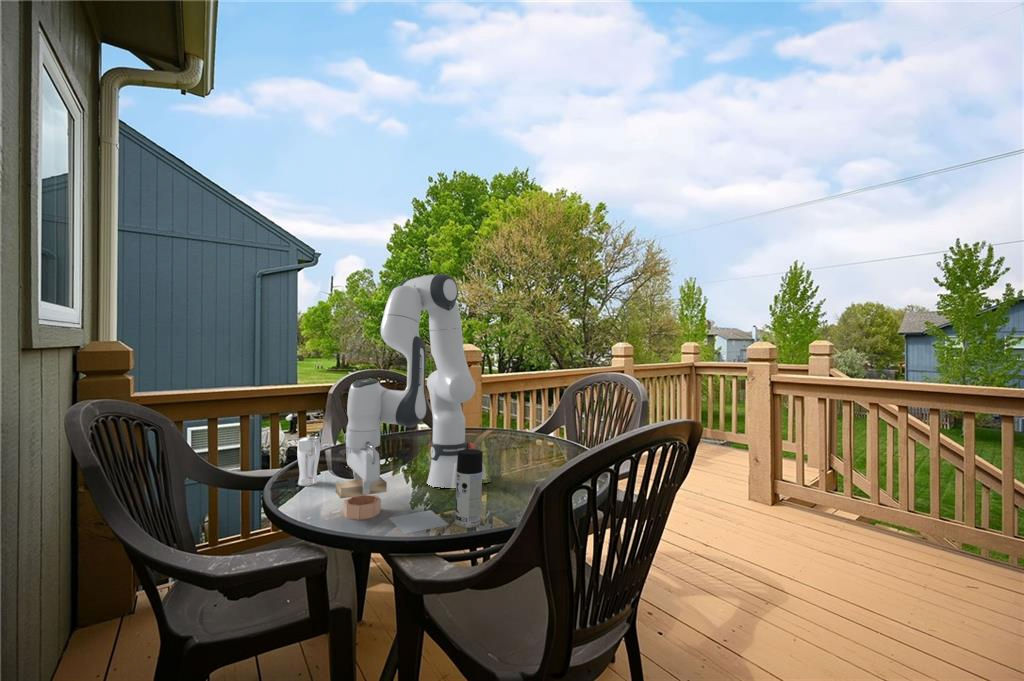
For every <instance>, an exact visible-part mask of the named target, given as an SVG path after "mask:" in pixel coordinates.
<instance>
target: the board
mask: <svg viewBox="0 0 1024 681" xmlns="http://www.w3.org/2000/svg"><path fill="white" fill-rule="evenodd" d="M387 486H388V483H387V481H386V480H385V479H384V478H382V477H381V476H380V477H379V480H378V481H376V482H372V483H371V487H370V494H369V495H376V494H381V493H387ZM362 487H363V479H358V480H354V479H353V480H345V481H337V482H335V493H336V494H337V495H338V497H339V498H340V499H348V498H349V497H355V496H362V495H363V494H362Z"/></svg>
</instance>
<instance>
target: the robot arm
mask: <svg viewBox="0 0 1024 681" xmlns="http://www.w3.org/2000/svg"><path fill="white" fill-rule="evenodd" d="M458 294H459V289H458V286H457V283H456V281H455V280H454V278H453V277H452V276H451V275H448V274H443V273H442V274H441V273H438V274H429V275H421V276H417V277H414V278H408V279H405V280H403V281H401V282H400V283H399V284H398V285H397V286H396V287H394V288H393V289H392V290H391V292H390V294H389V297H388V299H387V301H386V304H385V308H384V311H383V315H382V320H381V324H380V337H381V339H382V340H383V342H384V343H385V344H386V345H387V346H388V347H390V348H391V349H393V350H394V351H397V352H399V353H400V354H402V355H403V356H404V358H406V361H407V362H406V363H407V366H406V367H407V370H406V388H405V390H395V389H389V388H386V387H384V386H382V385H381V383H380V381H379V380H378V379H375V378H364V379H363V378H362V379H357V380H355V381H353V382H352V383H351V385H350V387H349V390H348V395H347V396H348V397H347V407H346V409H347V410H346V412H347V413H346V414H347V419H348V421H347V425H346V433H344V434H343V435H344V436H343V440H344V442H345V455H346V456H345V458H346V463H347V466H348V467H349V468H350V469H351V470H352V473H353V480H358V479H363V487H362V494H363V495H371V494H370V487H371V483H372V482H376V481H378V480H379V477H381V472H380V471H381V469H380V468H381V466H380V454H379V451H377V450H376V448H377V447H380V445H381V424H380V423H384V424H390V425H398V426H401V427H407V428H414V427H416V426H418V425H419V424H420V423H421V422H422V421H423V420H424V419H425V417H426V416H427V409H428V407H427V406H428V405H427V397H426V387H427V391H428V393H429V400H430V401H429V402H430V408H431V413H432V414H431V415H432V440H431V444H430V460H431V461H430V462H431V463H430V469H429V473H428V477H427V480H426V484H428V486H429V485H430V486H429V487H431V486H432V487H431V488H434V487H441V488H444V487H445V488H456V484H457V458H458V451H460V450H466V449H474V448H475V447H476V445H475V443H474V442H473V443H472V442H468V441H466V417H465V415H464V412H463V408H462V404H463V403H466V402H468V401H470V400H471V399H472V398H473V397H474V395H475V392H476V383H475V380H474V378H473V377H472V374H471V372H470V368H469V366H468V361H467V358H466V354H465V350H464V349H465V348H464V339H463V338H464V337H463V325H462V319H461V313H460V309H459V306H458V302H457V299H458ZM422 311H427V313H428V328H429V332H428V333H429V343H430V353H431V356H432V358H433V360H434V365H435V366H436V370H435V371H432V372H431V373H430V374H429V375H428V377H427V379H426V371H427V370H426V367H427V366H426V364H427V351H426V344H425V341H424V340H423V339H422V338H421V336H420V332H419V331H420V322H421V315H422ZM474 450H475V449H474ZM486 474H487V473H486V467H485V464H484V463H483V465H482V479H485V478H486Z"/></svg>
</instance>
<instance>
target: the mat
mask: <svg viewBox="0 0 1024 681" xmlns="http://www.w3.org/2000/svg"><path fill="white" fill-rule="evenodd" d="M388 519H389V520H390V522H392V523H393V524H394V526H396V527H397V529H398V530H400V532H401V533H402V534H404V535H407V534H412V533H416V532H421V531H427V530H431V529H434V528H435V529H436V528H440V527H445V526H450V524H449V523H448V522H447V521H446V520H444V519H443V518H442V517H440V516H439V515H438V514H436V513H435V512H434V511H433V510H431V509H429V510H423V511H419V512H412V513H409V514H408V513H407V514H402V515H396V516H392V517H388Z"/></svg>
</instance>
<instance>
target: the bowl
mask: <svg viewBox="0 0 1024 681" xmlns="http://www.w3.org/2000/svg"><path fill="white" fill-rule="evenodd" d="M381 501H382V499H381V498H380V497H379V495H376V494H368V495H362V496H355V497H348V498H345V499H344V500H343V512H342V513H343V515H344V517H345V518H346V519H347V520H356V521H359V520H360V521H361V520H365V519H366V520H367V519H372V518H374V517H375V518H376V516H378V515H379V514H380V513H381V505H382V502H381Z"/></svg>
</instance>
